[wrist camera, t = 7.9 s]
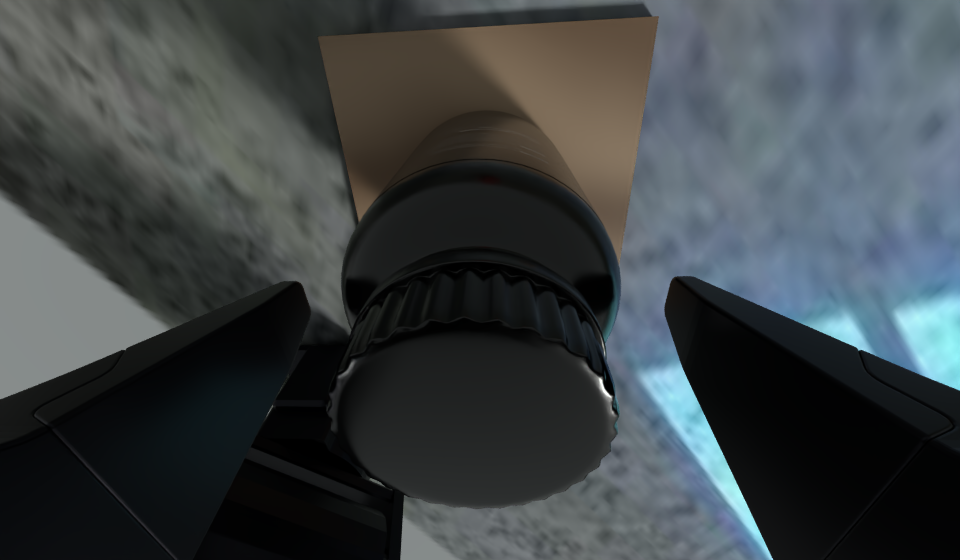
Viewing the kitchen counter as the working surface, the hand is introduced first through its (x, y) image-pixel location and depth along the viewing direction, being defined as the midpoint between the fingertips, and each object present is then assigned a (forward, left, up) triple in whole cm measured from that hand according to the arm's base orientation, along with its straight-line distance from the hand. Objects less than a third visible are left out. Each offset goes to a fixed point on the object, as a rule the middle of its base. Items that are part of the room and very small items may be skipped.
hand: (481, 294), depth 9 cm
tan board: (0, 0, -9) cm, 9 cm away
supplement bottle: (0, 0, -8) cm, 8 cm away
